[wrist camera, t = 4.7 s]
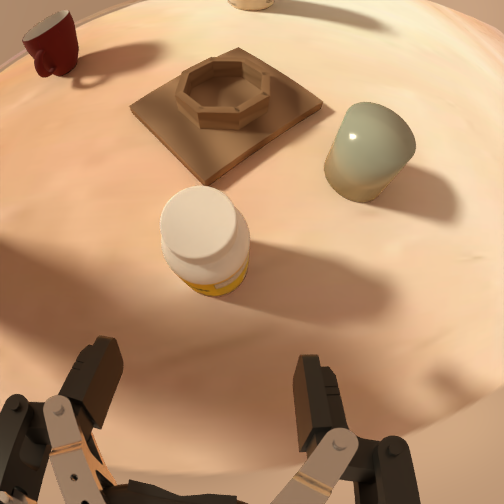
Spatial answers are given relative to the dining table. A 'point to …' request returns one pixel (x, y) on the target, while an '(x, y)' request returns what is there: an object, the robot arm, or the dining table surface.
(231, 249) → the supplement bottle
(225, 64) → the caddy
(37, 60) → the mug
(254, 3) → the supplement can
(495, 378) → the dining table surface
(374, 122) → the sage green domed cylinder
